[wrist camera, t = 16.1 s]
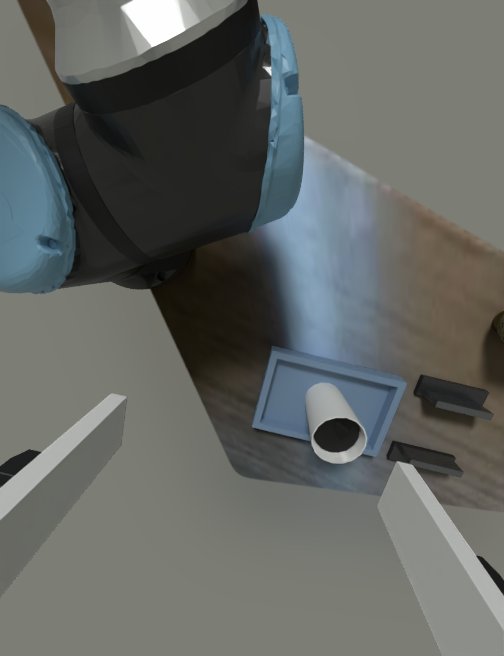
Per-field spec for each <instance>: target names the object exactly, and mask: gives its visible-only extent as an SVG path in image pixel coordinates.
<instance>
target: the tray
mask: <svg viewBox="0 0 504 656" xmlns="http://www.w3.org/2000/svg"><path fill="white" fill-rule="evenodd" d="M318 383H330V384H332V385H334V386H336V387H337V388H338V389H339V390H340V392H341V393H342V395H343V396H344V398H345V400H346V401H347V403H348V404H349V406H350V407H351V409H352V410H353V412H354V413H355V415H356V417H357V418H358V420H359V421H360V423H361V424H362V426H363V427H364V429H365V432H366V435H367V443H366V447H365V449H364V451H363V452H362V454H365V455H370V456H374V457H377V455H378V453H379V450H380V448H381V445H382V443H383V441H384V438H385V436H386V433H387V431H388V429H389V426H390V424H391V421H392V419H393V416H394V414H395V412H396V409H397V407H398V404H399V402H400V400H401V397H402V395H403V392H404V390H405V388H406V385H407V382H406V381H405V380H403V379H402V378H401V377H400V376H398V375H394V374H390V373H385V372H381V371H377V370H373V369H369V368H365V367H360V366H356V365H352V364H348V363H344V362H339V361H335V360H331V359H327V358H323V357H319V356H314V355H310V354H306V353H302V352H298V351H294V350H289V349H285V348H281V347H277V346H273V345H272V347H271V351H270V355H269V359H268V362H267V366H266V370H265V374H264V378H263V381H262V385H261V389H260V393H259V397H258V401H257V404H256V408H255V412H254V416H253V422H252V427H253V428H257V429H261V430H265V431H270V432H274V433H278V434H282V435H286V436H290V437H295V438H299V439H303V440H307V441H311V438H310V431H309V425H308V419H307V412H306V406H305V395H306V393H307V391H308V389H310V388H311V387H312V386H313V385H315V384H318Z"/></svg>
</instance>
